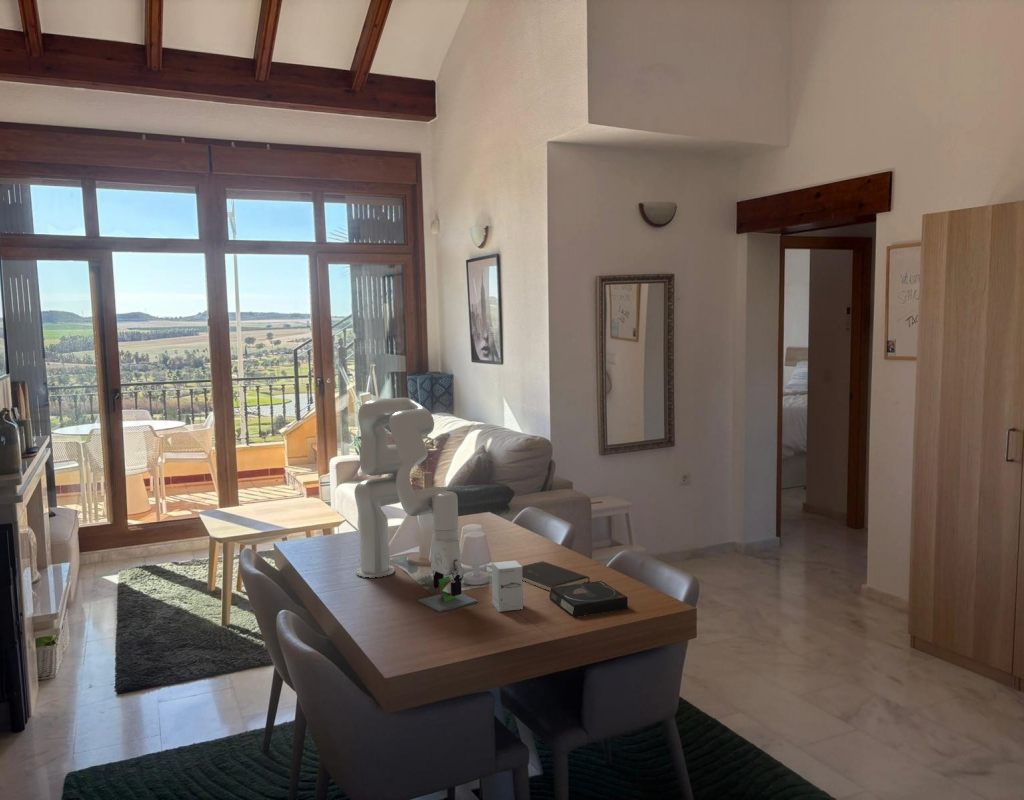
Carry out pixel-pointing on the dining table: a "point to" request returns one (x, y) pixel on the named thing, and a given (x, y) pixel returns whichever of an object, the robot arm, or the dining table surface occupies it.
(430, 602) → the mat
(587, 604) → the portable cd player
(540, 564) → the hardcover book
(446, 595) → the geometric puzzle
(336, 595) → the dining table surface
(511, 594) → the supplement box
